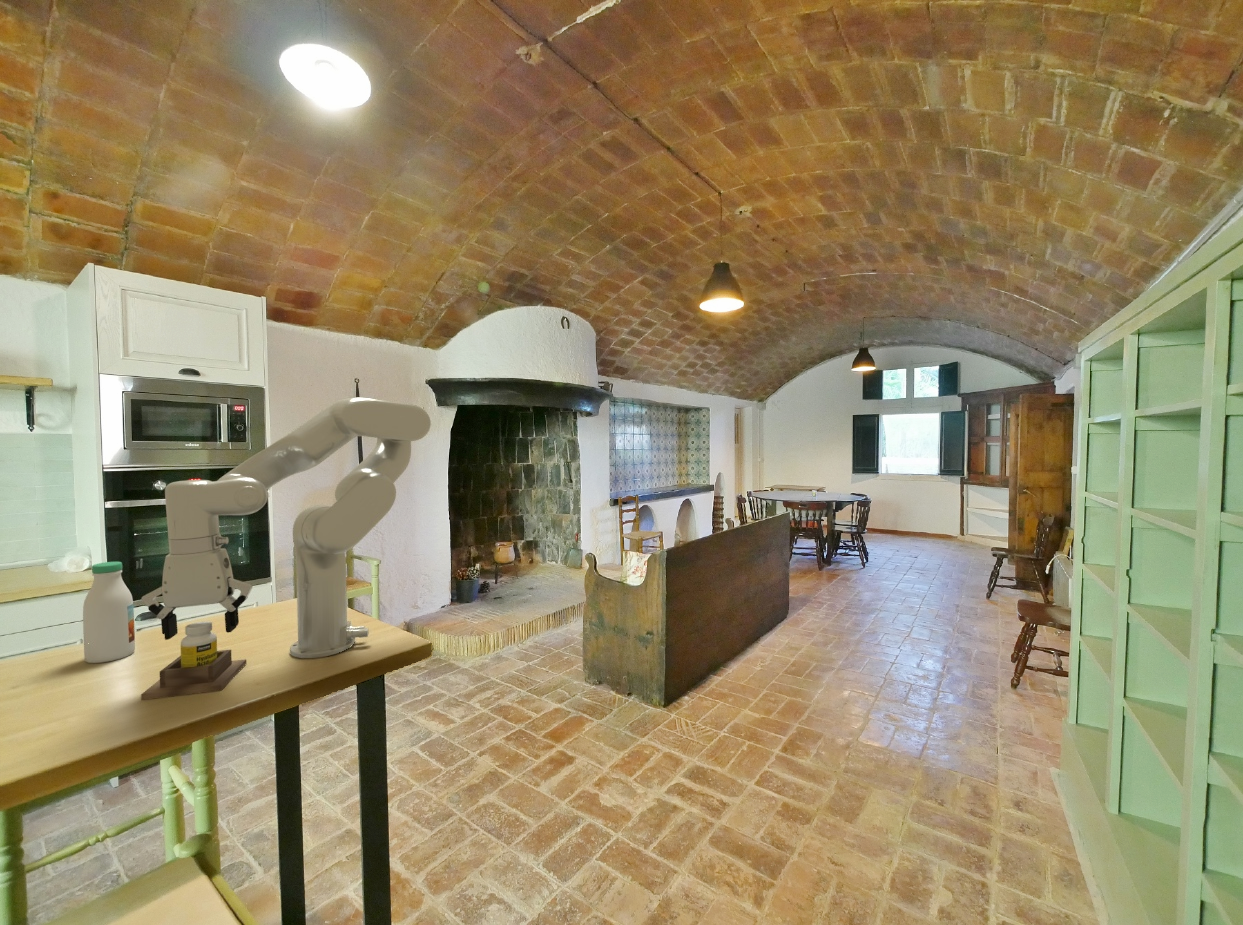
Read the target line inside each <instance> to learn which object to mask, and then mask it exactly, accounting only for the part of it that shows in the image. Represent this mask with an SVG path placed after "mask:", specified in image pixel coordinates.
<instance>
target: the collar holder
mask: <svg viewBox="0 0 1243 925" xmlns="http://www.w3.org/2000/svg"><path fill="white" fill-rule="evenodd" d="M245 664H246V665H247V659H246V658H245V659H237V660H233V659H232V649H224V650H217V659H216V660H215V661H214V662H213V663H212V664H210V665H204V666H195V667H185V668H181V655H179V656H178V657H176V659H174V660H173V661H171V663H169V664H168V665H166V666H165V667H164V668H162V669H161V670H160V671H159V679H158V681H156V682H155V683H154V684H152V685H151V686H150V687H149V688H147V689H146V690H145V691H144V692H142V693H141V694H140V699H141V701H143V700H152V699H153V700H154V699H160V697H162V698H168V697H175V696H176V697H178V696H187V695H193V694H192V693H195V694H200V693H199V692H204V693H209V692H210V693H212V692H219V690H220V691H223V690H224V689H225V687H226V686H227V685H228V684H229V683H231V681H232V680H233V679H234V678H235V677H236V676H237V675H238V674H239V673H238V672H240V671H242V669H243V668H244V667H245V666H246V665H245ZM243 666H244V667H243ZM241 668H242V669H241ZM239 670H240V671H239ZM237 673H238V674H237ZM236 674H237V675H236ZM235 675H236V676H235ZM233 677H234V678H233Z"/></svg>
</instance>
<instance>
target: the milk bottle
mask: <svg viewBox="0 0 1243 925" xmlns="http://www.w3.org/2000/svg"><path fill="white" fill-rule="evenodd" d="M91 573H92V574H91V575H92V577H93V580H92V584H91V586H90V589H89V591H88V592H87V594H86V595H85V596H86V597H85V599H84V603H83V606H82V608H83V609H82V624H83V625H82V626H83V629H82V630H83V631H82V632H83V634H82V635H83V653H84V655H83V656H84V661H85V662H86V663H89V664H100V663H101V664H102V663H107V662H108V663H109V662H113V661H116V660H121V659H123V658H126V657H128V656H130V655H133V654H134V652H135V650H136V639H135V633H136V632H135V615H134V614H135V613H134V612H135V609H134V600H133V595H132V593H131V591H130V589H129V588H128V587H127V585H126V583H125V582H124V580H123V576H122V573H123V562H121V561H105V562H100V563H95V564H93V565H92V566H91ZM88 643H89V644H88Z"/></svg>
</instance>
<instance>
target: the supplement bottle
mask: <svg viewBox="0 0 1243 925" xmlns="http://www.w3.org/2000/svg"><path fill="white" fill-rule="evenodd" d="M184 628H185V629H184V630H185V631H184V633H185V635H186V636H185V637H183V638H182V639H181V640H180V656H181V668H185V667H195V666H204V665H210V664H212V663H213V662H214V661H215V660H216V659H217V651H218V641H217V640H218V639H217V638H218V637H217V634H216V633H215V632H212V631H213V622H212V621H210V620H209V621H208V620H207V621H205V620H204V621H197V622H193V623H189V624H187V625H185V627H184Z"/></svg>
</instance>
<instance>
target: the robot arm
mask: <svg viewBox="0 0 1243 925" xmlns="http://www.w3.org/2000/svg"><path fill="white" fill-rule="evenodd" d="M431 422H432V421H431V417H430V414H428V412H427V411H426V410H425V409H424V408H423V407H421V406H419V405H416V404H413V403H411V404H410V403H405V402H404V403H403V402H396V401H388V400H381V399H376V398H374V399H373V398H368V397H367V398H366V397H351V398H343V399H339V400H338V401H335V402H333V403H332V404H330V405H329V406H327V407H326V408H325V409H323V410H321V411H320V412H319V413H317V414H316V415H314V416H313V417H311V418H310V419H309V420H307V421H305V422H304V423H303V424H301V425H299V427H296V429H294V430H292V431H291V432H290V433H288V434H287V435H285V436H283V437H281V438H280V439H278V440H277V441H275V442H273V443H271V444H270V445H269V446H267V447H265V448H264V449H262V450H261V451H259V452H257V453H255V454H254V455H252V456H250V457H249V458H247V459H246V460H244V461H243V462H242V463H240V464H238V465H236V467H234V468H233V469H231V470H229V471H228V472H227V473H225V474H224V475H223V476H221V477H220V478H219V479H218V480H215V481H212V480H208V479H188V480H179V481H173V482H170V483H168V484H167V485H166V487H165V489H164V497H165V498H164V499H165V510H166V522H167V523H166V524H167V534H168V535H167V536H168V537H167V538H168V548H169V553H168V554H167V555H165V559H164V564H163V568H162V569H163V570H162V581H161V582H162V583H161V586H159V587H158V588H156V589H154V590H152V591H150V592H148V593H146V594H145V595H143V596H142V597H141V601H142V602H143V604H145V606H146V607H148V611H149V612H151V613H153V614H154V615H155V616H156V618H157V619H159V620H160V621H161V622H160V623H161V624H160V625H161V633H162V635H164V640H165V641H166V640H170V639H171V638H173V637H174V636H176V635H177V634H178V632H179V631H178V622H177V621H178V619H177V614H176V613H174V611H175V610H176V609H179V608H186V607H189V608H190V607H197V606H207V605H215V604H216V605H217V604H219V605H221V606H222V607H223V608H224V609H225V610H226V612H225V613H224V623H225V632H226V633H227V634H229V633H232V632H233V631H234V630H235V629H236V628H237V626H238V625H239V620H240V619H239V608H240V606H241V605H242V604H243V603H245V601H247V599H248V597H249V595H250V594H251V592H252V589H253V585H252V584H250V583H248V582H245V581H243V580H238V579H235V578H234V574H233V568H232V564H231V561H230V557H229V554H228V551H227V549H226V548H221V547H222V546H223V545H228V544H229V540H230V539H229V537H228V536H226V537H225V536H222V535H221V533H220V521H219V520H220V519H219V516H246V515H251V514H254V513H257V512H258V511H259V510H261V509H262V508H264V506H265V505H266V503H267V502H268V498H269V494H268V493H269V492H268V490H269V489H271V488H273V486H275V485H276V484H278V483H280V482H281V481H283V480H285V479H287V478H289V477H291V476H294V475H296V474H299V473H303V472H305V471H309V470H311V469H313V468H314V467H316V466H319V465H320V464H321V463H322V462H324V461H325V460H326V459H328V458H329V457H331V456H332V455H333V454H334V453H336V452H337V451H338V450H340V449H341V448H342V447H344V446H345V445H347V444H348V443H350V442H351V441H352V440H353V439H354V438H356V437H366V438H367V437H368V438H376V443H375V444H376V445H375V447H374V448H373V449H372V451H371V452H370V453H369V454H367V456H366V457H365V458H364V459H363V460H362V461H361V462H360V463H359V464H358V465H357V466H355V467H354V468H353V469H352V470H351V471H350V472H348V474H346V475H345V476H344V477H343V478H342V479H341V480H340V481H339V482H338V484H337V486H336V487H335V491H334V498H335V499H336V501H335V502H334V503H333V504H332V505H331V506H329V505H324V504H323V505H321V504H320V505H312V506H309V507H307V508H305V509H303V510H302V511H301V512H300V513H299V514H298V515H297V516H296V518H295V519H294V523H293V526H292V541H293V547H294V553H295V564H296V603H297V604H296V607H297V609H296V610H297V611H296V612H297V613H296V614H297V641H295V642H294V643H293V644H291V646H290V647H289V653H290V655H291V656H292V657H294V658H298V659H319V658H325V657H329V656H333V655H337V654H340V653H342V651H343V652H344V650H345V651H347V650H349V649H350V648H351V647H350V646H351V645H353V644H354V642H355V643H356V638H368V637H369V627H365V625H364V626H363V625H362V626H353V625H352V622H351V620H349V621H348V609H347V608H348V606H347V605H348V601H347V599H348V598H347V597H348V595H347V560H346V553H347V552H348V551H351V549H352V548H354V547H355V546H357V544H358V543H360V541H362V540H363V539H364V538H365V537H366V536H367V535H368V533H370V531H371V530H373V529H374V527H376V526H377V525H378V523H379V522H380V521H381V520H382V519H384V517H385V516H386V515H387V514H388V513H389V512H390V510H392V507H393V506H394V504H395V502H396V497H397V489H396V486H395V482H396V481H397V480H398V479H399V478H400V477H401V476H402V475H403V473H404V472H405V471H406V469H407V468H408V466H409V463H410V461H411V456H412V442H416V441H419V440H422V439H423V438H424V437H425V436H427V435H428V433H429V432H430V429H431ZM235 590H239V591H240V593H239V596H238V597H237V598H235V597H234V596H233V595H234V594H235ZM160 595H162V601H163V604H161V602H159V601H158V600H157V597H158V596H160ZM354 645H355V644H354ZM354 645H353V646H354ZM348 648H349V649H348ZM346 649H347V650H346ZM339 652H340V653H339Z"/></svg>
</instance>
